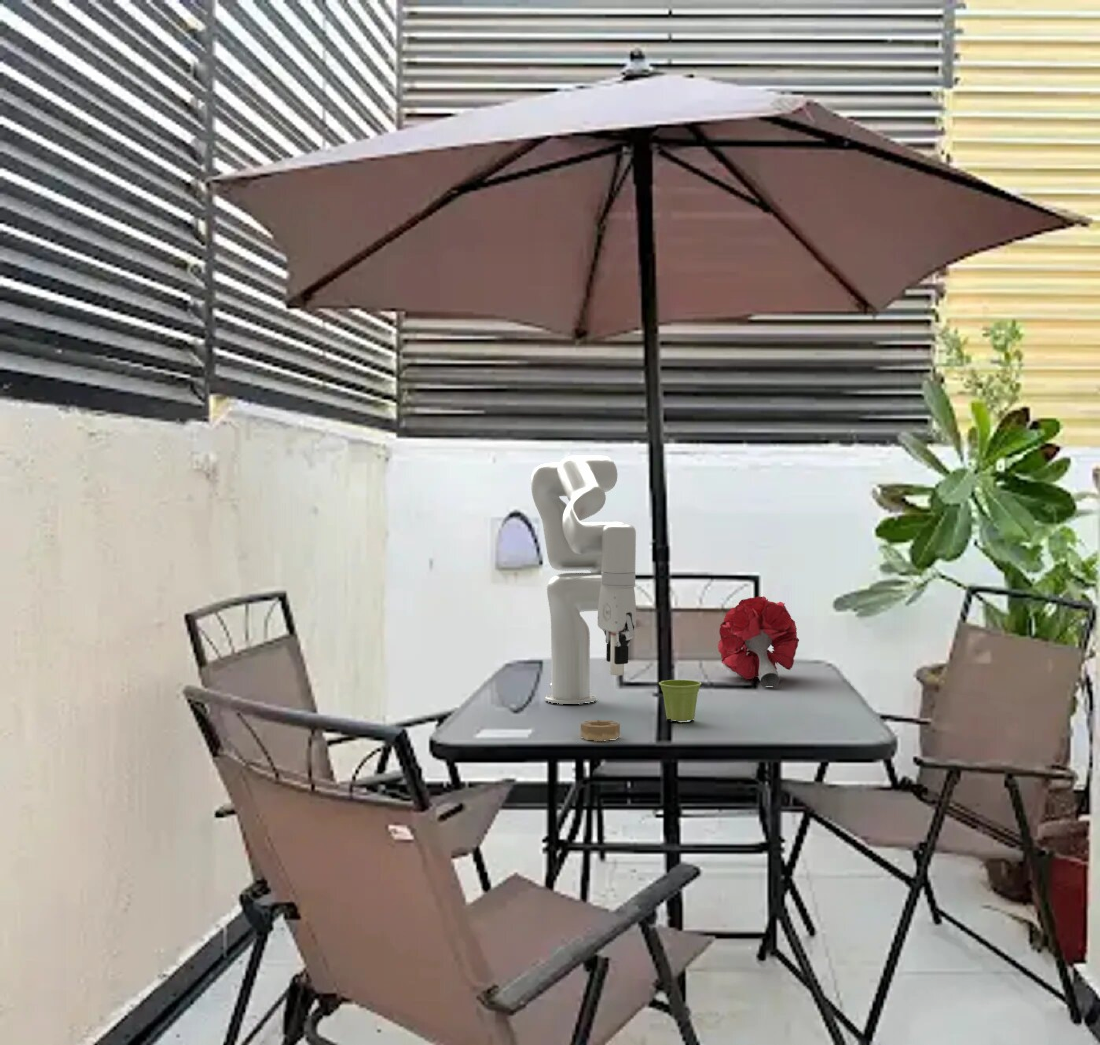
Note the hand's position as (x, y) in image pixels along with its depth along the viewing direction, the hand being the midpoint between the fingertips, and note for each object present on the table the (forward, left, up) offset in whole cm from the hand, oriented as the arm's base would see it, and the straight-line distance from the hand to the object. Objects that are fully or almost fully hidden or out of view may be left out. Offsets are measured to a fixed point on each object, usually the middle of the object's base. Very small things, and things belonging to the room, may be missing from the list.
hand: (617, 661), depth 265 cm
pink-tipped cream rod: (0, 0, -3) cm, 3 cm away
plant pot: (+4, +14, -14) cm, 20 cm away
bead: (+13, -11, -14) cm, 22 cm away
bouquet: (-38, +65, -14) cm, 76 cm away
